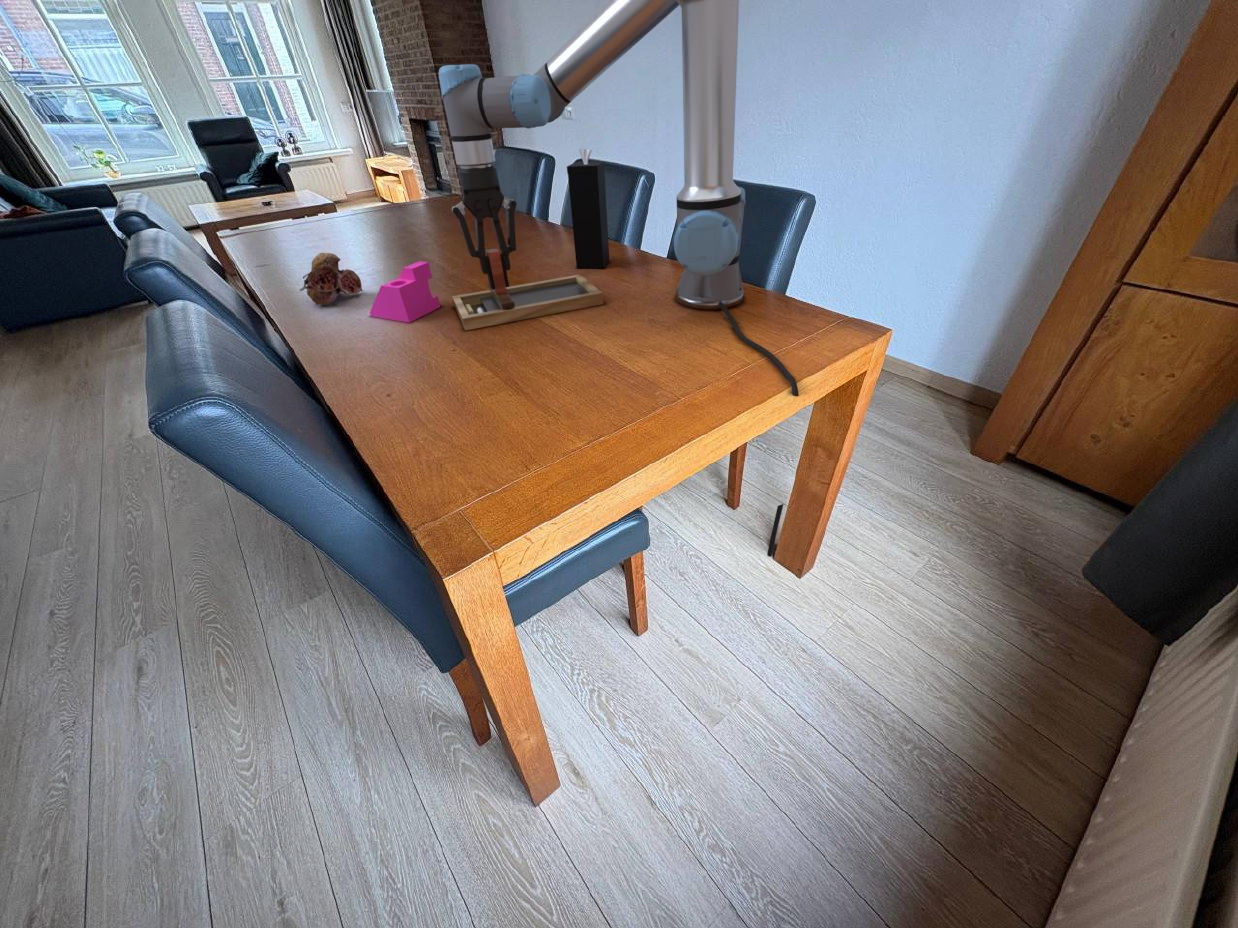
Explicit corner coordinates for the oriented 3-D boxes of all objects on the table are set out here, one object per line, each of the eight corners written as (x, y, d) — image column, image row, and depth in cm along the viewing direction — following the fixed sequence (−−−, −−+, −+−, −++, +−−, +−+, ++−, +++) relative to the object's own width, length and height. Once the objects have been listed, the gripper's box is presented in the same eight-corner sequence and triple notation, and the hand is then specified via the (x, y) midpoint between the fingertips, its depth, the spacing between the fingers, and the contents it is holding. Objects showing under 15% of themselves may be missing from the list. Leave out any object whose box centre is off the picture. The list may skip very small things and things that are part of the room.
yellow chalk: (472, 317, 112) (475, 313, 111) (467, 314, 111) (470, 309, 110) (469, 310, 115) (472, 306, 115) (464, 307, 114) (467, 303, 114)
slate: (603, 304, 115) (602, 293, 113) (465, 330, 106) (462, 318, 104) (580, 284, 126) (580, 274, 125) (454, 307, 117) (452, 296, 116)
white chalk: (484, 321, 109) (487, 316, 109) (479, 318, 109) (481, 313, 108) (481, 314, 113) (483, 309, 113) (476, 311, 112) (478, 306, 112)
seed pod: (280, 291, 111) (340, 259, 113) (272, 259, 120) (327, 230, 122) (321, 334, 122) (375, 304, 124) (311, 302, 131) (361, 275, 133)
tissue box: (603, 269, 136) (596, 150, 119) (576, 268, 138) (565, 151, 121) (609, 260, 142) (603, 146, 125) (583, 260, 144) (573, 147, 127)
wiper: (516, 311, 108) (506, 258, 101) (503, 313, 107) (493, 260, 100) (501, 291, 119) (492, 242, 112) (489, 293, 118) (479, 243, 112)
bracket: (440, 306, 118) (428, 262, 112) (409, 322, 111) (394, 275, 104) (402, 301, 122) (389, 258, 116) (370, 316, 115) (354, 271, 109)
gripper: (510, 160, 102) (528, 276, 116) (433, 167, 97) (462, 287, 112) (519, 164, 96) (537, 285, 110) (438, 172, 92) (467, 297, 106)
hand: (499, 286), depth 111 cm, fingers closed on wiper, 2 cm apart
